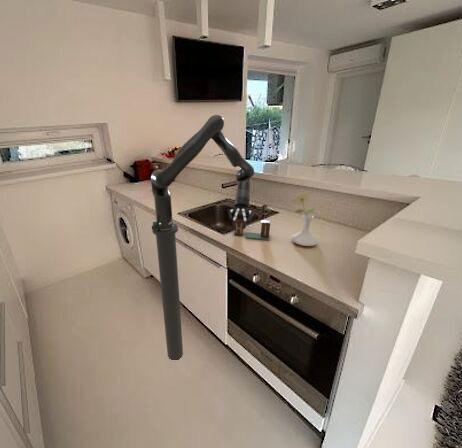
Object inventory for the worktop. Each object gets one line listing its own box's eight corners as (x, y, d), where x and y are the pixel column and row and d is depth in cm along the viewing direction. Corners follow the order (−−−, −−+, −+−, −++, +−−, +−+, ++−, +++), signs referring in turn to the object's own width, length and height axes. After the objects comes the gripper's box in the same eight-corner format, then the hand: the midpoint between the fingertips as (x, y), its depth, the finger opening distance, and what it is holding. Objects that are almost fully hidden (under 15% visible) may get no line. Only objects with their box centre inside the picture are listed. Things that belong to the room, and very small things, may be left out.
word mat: (245, 238, 124) (246, 237, 124) (246, 233, 129) (247, 232, 129) (268, 240, 121) (268, 239, 121) (268, 235, 126) (268, 234, 126)
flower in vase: (314, 238, 121) (322, 189, 111) (319, 249, 110) (329, 195, 101) (286, 236, 124) (292, 188, 114) (289, 247, 114) (295, 195, 104)
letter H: (234, 235, 128) (235, 220, 125) (235, 232, 131) (236, 218, 128) (242, 235, 127) (243, 221, 124) (243, 232, 130) (243, 218, 127)
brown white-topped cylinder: (260, 237, 123) (261, 222, 120) (260, 234, 126) (261, 219, 123) (268, 238, 122) (270, 223, 119) (268, 235, 125) (270, 220, 122)
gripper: (228, 195, 131) (224, 224, 125) (255, 196, 127) (253, 226, 120) (229, 201, 137) (225, 230, 131) (255, 203, 133) (253, 232, 127)
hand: (238, 228), depth 126 cm, fingers closed on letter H, 4 cm apart
